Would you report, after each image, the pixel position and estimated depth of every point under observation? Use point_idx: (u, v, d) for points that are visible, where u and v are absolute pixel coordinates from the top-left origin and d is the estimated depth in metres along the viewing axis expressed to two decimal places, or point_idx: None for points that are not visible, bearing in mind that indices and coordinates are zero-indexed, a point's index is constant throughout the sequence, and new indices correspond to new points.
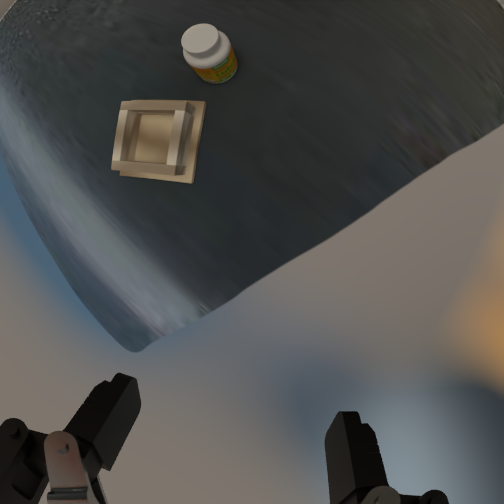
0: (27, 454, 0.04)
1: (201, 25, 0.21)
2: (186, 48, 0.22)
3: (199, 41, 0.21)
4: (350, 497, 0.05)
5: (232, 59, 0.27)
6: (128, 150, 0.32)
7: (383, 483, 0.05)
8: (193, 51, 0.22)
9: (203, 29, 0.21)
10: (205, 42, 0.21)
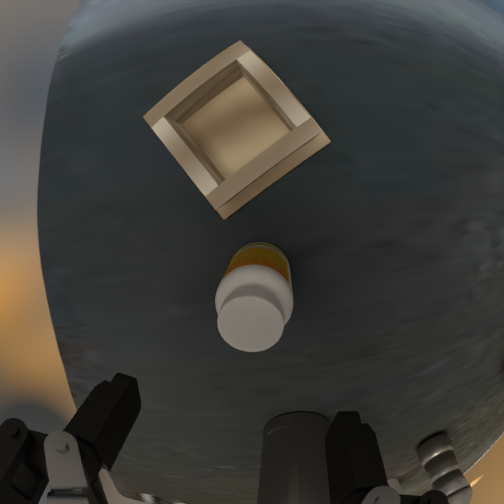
0: (27, 454, 0.04)
1: (268, 344, 0.16)
2: (250, 299, 0.15)
3: (243, 320, 0.16)
4: (350, 497, 0.05)
5: None
6: (251, 80, 0.18)
7: (383, 483, 0.05)
8: (234, 300, 0.15)
9: (258, 339, 0.16)
10: (233, 325, 0.16)
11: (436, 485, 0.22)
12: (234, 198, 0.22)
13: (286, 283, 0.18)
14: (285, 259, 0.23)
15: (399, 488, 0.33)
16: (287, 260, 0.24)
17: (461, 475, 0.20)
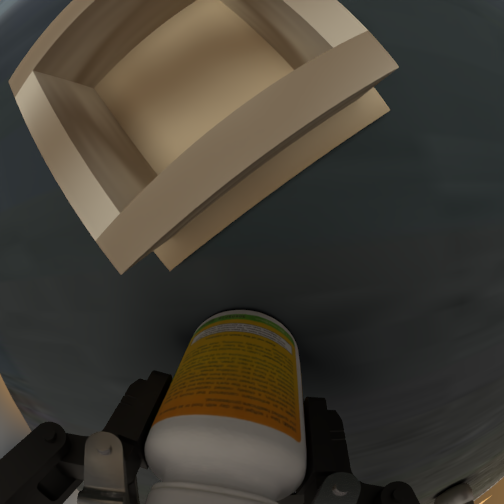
0: (61, 460, 0.05)
1: None
2: None
3: None
4: (311, 481, 0.06)
5: None
6: None
7: (346, 470, 0.06)
8: None
9: None
10: None
11: None
12: (187, 228, 0.11)
13: (294, 450, 0.06)
14: (292, 348, 0.11)
15: None
16: (295, 343, 0.12)
17: None
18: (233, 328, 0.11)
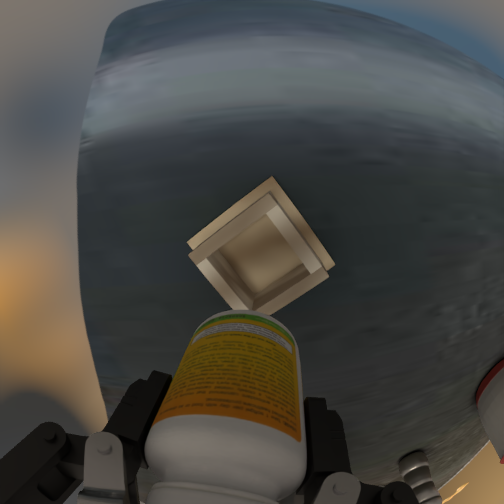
0: (61, 460, 0.05)
1: None
2: None
3: None
4: (311, 482, 0.06)
5: None
6: None
7: (346, 470, 0.06)
8: None
9: None
10: None
11: None
12: None
13: (295, 450, 0.06)
14: (292, 348, 0.11)
15: None
16: (295, 343, 0.12)
17: (433, 486, 0.27)
18: (233, 328, 0.11)
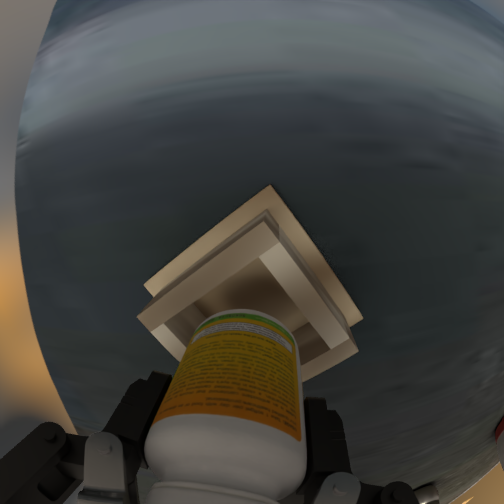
0: (61, 460, 0.05)
1: None
2: None
3: None
4: (311, 482, 0.06)
5: None
6: None
7: (346, 470, 0.06)
8: None
9: None
10: None
11: None
12: None
13: (295, 449, 0.06)
14: (292, 347, 0.11)
15: None
16: (295, 342, 0.12)
17: None
18: (233, 327, 0.11)
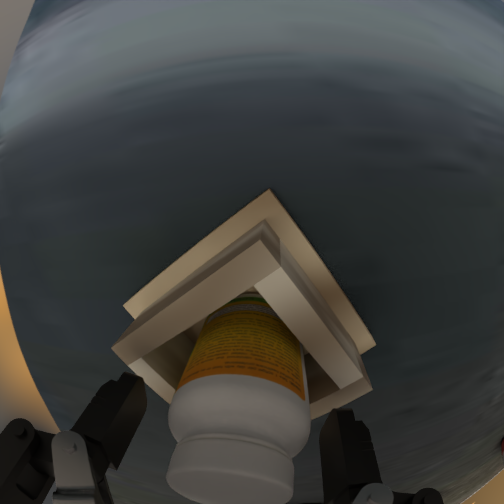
0: (33, 455, 0.04)
1: None
2: (223, 473, 0.05)
3: (213, 489, 0.06)
4: (343, 494, 0.06)
5: None
6: None
7: (376, 480, 0.06)
8: (189, 471, 0.05)
9: None
10: (197, 490, 0.06)
11: None
12: None
13: (300, 406, 0.08)
14: None
15: None
16: None
17: None
18: (244, 308, 0.13)
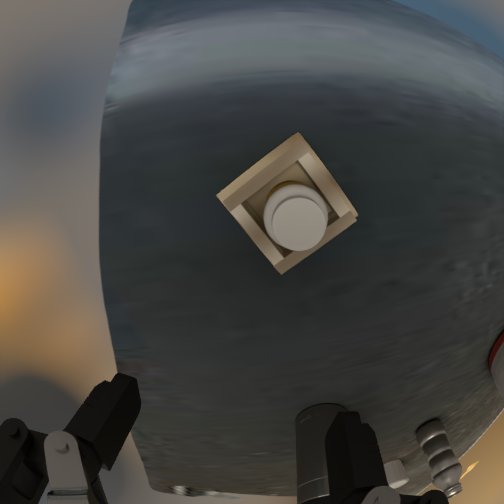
0: (27, 454, 0.04)
1: (314, 241, 0.20)
2: (299, 200, 0.19)
3: (293, 220, 0.20)
4: (350, 497, 0.05)
5: None
6: (305, 171, 0.26)
7: (383, 483, 0.05)
8: (286, 202, 0.19)
9: (306, 237, 0.20)
10: (285, 225, 0.20)
11: (432, 462, 0.31)
12: None
13: None
14: None
15: (402, 468, 0.43)
16: None
17: (452, 454, 0.30)
18: (290, 181, 0.26)
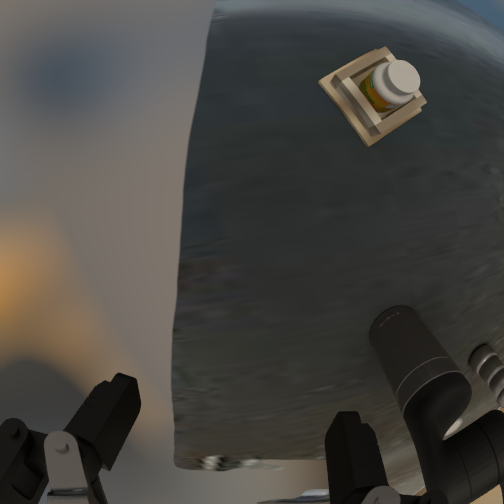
0: (27, 454, 0.04)
1: (414, 88, 0.21)
2: (402, 61, 0.20)
3: (401, 72, 0.21)
4: (350, 497, 0.05)
5: (370, 95, 0.27)
6: None
7: (383, 483, 0.05)
8: (395, 60, 0.20)
9: (409, 84, 0.21)
10: (396, 74, 0.21)
11: (494, 381, 0.31)
12: (375, 134, 0.32)
13: None
14: None
15: None
16: None
17: None
18: None
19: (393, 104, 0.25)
